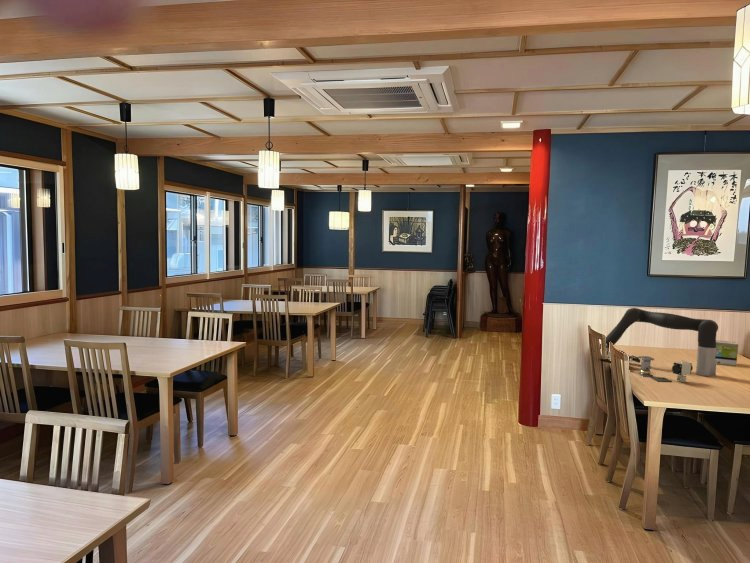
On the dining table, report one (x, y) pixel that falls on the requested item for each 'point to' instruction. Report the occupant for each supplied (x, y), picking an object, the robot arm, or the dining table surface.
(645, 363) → the grey column pedestal
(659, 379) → the pad
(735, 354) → the tea box
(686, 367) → the pneumatic valve
